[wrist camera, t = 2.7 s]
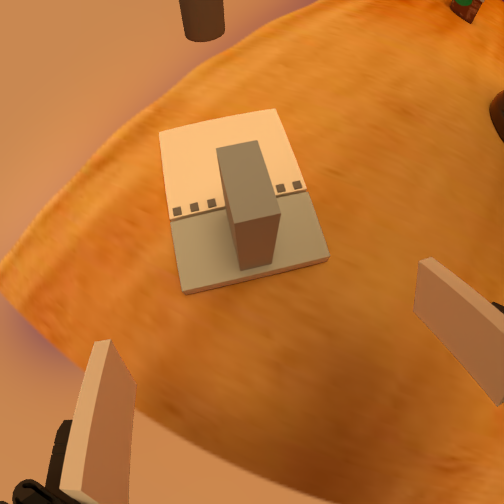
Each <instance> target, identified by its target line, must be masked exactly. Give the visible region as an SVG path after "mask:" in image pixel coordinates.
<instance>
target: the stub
mask: <svg viewBox="0 0 504 504" xmlns="http://www.w3.org/2000/svg"><path fill="white" fill-rule="evenodd" d="M216 153H217V159H218V165H219V171H220V177H221V184H222V190H223V196H224V202H225V208H226V209H224V210H220V211H216V212H211V213H207V214H203V215H199V216H194V217H190V218H186V219H182V220H178V221H174V222H170V224H171V230H172V236H173V243H174V249H175V255H176V260H177V266H178V272H179V277H180V283H181V288H182V292H183V293H184V294H185V295H188V294H192V293H196V292H201V291H205V290H210V289H214V288H218V287H223V286H227V285H231V284H235V283H240V282H244V281H248V280H252V279H256V278H261V277H265V276H269V275H273V274H277V273H281V272H285V271H289V270H293V269H297V268H301V267H306V266H310V265H313V264H317V263H321V262H325V261H327V260H328V259H329V257H330V253H329V250H328V247H327V244H326V241H325V238H324V235H323V232H322V230H321V227H320V224H319V221H318V218H317V215H316V212H315V210H314V207H313V204H312V201H311V198H310V196H309V193H308V192H304V193H299V194H294V195H289V196H284V197H280V198H276V195H275V192H274V189H273V186H272V183H271V179H270V176H269V173H268V170H267V167H266V164H265V161H264V158H263V155H262V152H261V149H260V146H259V143H258V140H255V141H249V142H244V143H239V144H234V145H229V146H224V147H220V148H216Z"/></svg>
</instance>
